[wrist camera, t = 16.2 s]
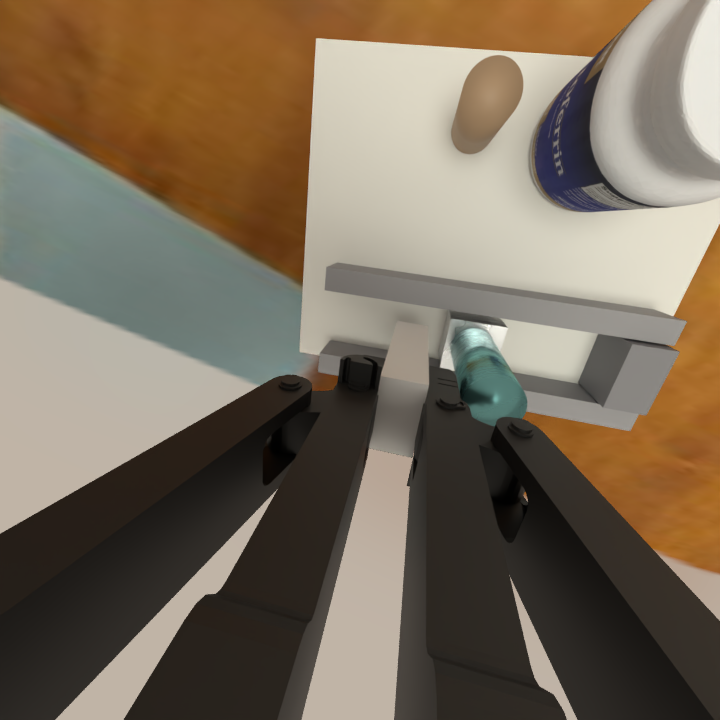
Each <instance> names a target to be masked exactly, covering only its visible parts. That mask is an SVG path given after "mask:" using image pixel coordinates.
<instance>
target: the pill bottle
mask: <svg viewBox="0 0 720 720" xmlns="http://www.w3.org/2000/svg"><path fill="white" fill-rule="evenodd" d="M530 166H531V172H532V176H533V179H534V182H535V184H536V186H537V187H538V189H539V191H540V192H541V193H542V195H543V196H544V197H545V198H546V199H547V200H549V201H550V202H551V203H553V204H554V205H556V206H558V207H560V208H562V209H565V210H569V211H574V212H603V211H619V210H634V209H651V208H668V207H677V206H686V205H692V204H698V203H703V202H706V201H710V200H713V199H716V198H719V197H720V0H653V1H651V2H650V3H649V4H648V5H647V6H646V7H645V8H644V9H643V10H642V11H641V12H640V13H639V14H638V15H637V16H636V17H635V18H634V19H633V20H632V21H631V22H630V23H628V24H627V25H626V26H625V27H624V28H623V29H622V30H621V31H620V32H619V33H618V34H617V35H616V36H615V37H614V38H613V39H612V40H611V41H610V42H609V43H608V44H607V45H606V46H605V47H604V48H603V49H602V50H601V51H600V52H599V53H597V54H596V56H595V57H594V58H593V59H592V60H591V61H590V62H589V63H588V64H587V65H586V66H585V67H584V68H583V69H582V70H581V71H580V72H579V73H578V74H576V75H575V76H574V78H573V79H572V80H571V81H570V82H569V83H568V84H566V85H565V87H564V88H563V89H562V90H561V91H560V92H559V93H558V94H557V95H556V96H555V98H554V99H553V100H552V101H551V103H550V104H549V105H548V107H547V108H546V110H545V111H544V113H543V114H542V116H541V118H540V120H539V122H538V124H537V127H536V129H535V132H534V135H533V139H532V144H531V151H530Z"/></svg>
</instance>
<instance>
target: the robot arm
mask: <svg viewBox="0 0 720 720" xmlns="http://www.w3.org/2000/svg"><path fill="white" fill-rule="evenodd" d="M369 448H370V449H375V450H380V451H384V452H388V453H393V454H397V455H402V456H407V457H411V458H412V457H413V453H414V457H413V461H412V466H411V470H410V474H409V478H408V483H407V486H410V492H409V508H408V521H407V536H406V551H405V567H404V581H403V597H402V611H401V626H400V641H399V642H400V643H399V657H398V671H397V686H396V701H395V717H394V720H567V719H566V716H565V713H564V711H563V709H562V707H561V706H560V704H559V703H558V701H557V699H556V698H555V696H554V695H553V694H552V693H550V692H548V691H546V690H544V689H543V688H541V687H539V685H538V683H537V682H536V680H535V678H534V675H533V672H532V669H531V665H530V661H529V657H528V653H527V649H526V644H525V640H524V636H523V631H522V627H521V623H520V619H519V614H518V610H517V606H516V602H515V598H514V593H513V589H512V585H511V581H510V577H511V579H512V581H513V583H514V586H515V588H516V589H517V592H518V594H519V596H520V598H521V601H522V603H523V605H524V607H525V609H526V611H527V613H528V615H529V617H530V620H531V622H532V624H533V626H534V628H535V630H536V632H537V634H538V636H539V639H540V641H541V643H542V645H543V647H544V649H545V651H546V653H547V656H548V658H549V660H550V662H551V664H552V666H553V669H554V671H555V673H556V675H557V677H558V679H559V681H560V683H561V685H562V688H563V690H564V692H565V694H566V696H567V698H568V700H569V703H570V705H571V707H572V709H573V711H574V713H575V715H576V717H577V719H578V720H720V621H719V620H718V619H717V618H716V617H715V615H714V614H713V613H712V612H711V611H710V610H709V609H708V608H707V607H706V606H705V605H704V604H703V603H702V602H701V601H700V599H699V598H698V597H697V596H696V595H695V594H694V593H693V592H692V591H691V590H690V589H689V588H688V587H687V586H686V584H685V583H684V582H683V581H682V580H681V579H680V578H679V577H678V576H677V575H676V574H675V573H674V572H673V571H672V569H671V568H670V567H669V566H668V565H667V564H666V563H665V562H664V561H663V560H662V559H661V558H660V557H659V556H658V554H657V553H656V552H655V551H654V550H653V549H652V548H651V547H650V546H649V545H648V544H647V543H646V542H645V541H644V540H643V538H642V537H641V536H640V535H639V534H638V533H637V532H636V531H635V530H634V529H633V528H632V527H631V526H630V525H629V523H628V522H627V521H626V520H625V519H624V518H623V517H622V516H621V515H620V514H619V513H618V512H617V511H616V510H615V508H614V507H613V506H612V505H611V504H610V503H609V502H608V501H607V500H606V499H605V498H604V497H603V496H602V495H601V493H600V492H599V491H598V490H597V489H596V488H595V487H594V486H593V485H592V484H591V483H590V482H589V481H588V480H587V479H586V477H585V476H584V475H583V474H582V473H581V472H580V471H579V470H578V469H577V468H576V467H575V466H574V465H573V464H572V462H571V461H570V460H569V459H568V458H567V457H566V456H565V455H564V454H563V453H562V452H561V451H560V450H559V449H558V447H557V446H556V445H555V444H554V443H553V442H552V441H551V440H550V439H549V438H548V437H547V436H546V435H545V434H544V433H543V431H541V430H540V429H539V428H538V427H536V426H535V425H533V424H531V423H529V422H528V421H526V420H524V419H523V420H522V419H521V418H513V417H501V418H499V419H497V422H496V425H495V427H494V426H491V425H489V424H486V423H483V422H481V421H479V420H476V419H475V418H473V417H472V415H471V411H470V408H469V406H468V404H467V403H465V402H464V401H463V400H461V397H460V392H459V388H458V383H457V377H456V375H455V374H454V373H453V372H452V371H451V370H450V369H445V368H439V367H434V366H429V354H428V326H425V325H419V324H413V323H407V322H401V321H397V324H396V327H395V330H394V333H393V337H392V340H391V343H390V347H389V350H388V353H387V356H386V359H385V358H380V357H375V356H369V355H357V354H356V355H347V356H344V357H342V358H341V359H340V366H339V375H338V383H337V385H336V386H335V388H334V390H330V391H312V383H311V382H310V381H309V380H307V379H305V378H303V377H299V376H297V375H285V376H279V377H276V378H273V379H271V380H270V381H268V382H266V383H264V384H263V385H261V386H259V387H257V388H256V389H254V390H252V391H251V392H249V393H247V394H245V395H243V396H241V397H240V398H238V399H236V400H235V401H233V402H231V403H230V404H227V405H226V406H224V407H222V408H220V409H219V410H217V411H215V412H214V413H212V414H210V415H208V416H207V417H205V418H203V419H201V420H199V421H198V422H196V423H194V424H192V425H191V426H189V427H187V428H186V429H184V430H182V431H180V432H178V433H176V434H175V435H173V436H171V437H169V438H168V439H166V440H164V441H163V442H161V443H159V444H157V445H156V446H154V447H152V448H150V449H148V450H147V451H145V452H143V453H141V454H140V455H138V456H136V457H134V458H133V459H131V460H129V461H128V462H126V463H124V464H122V465H121V466H119V467H117V468H115V469H113V470H111V471H110V472H108V473H106V474H104V475H103V476H101V477H99V478H97V479H96V480H94V481H92V482H90V483H89V484H87V485H85V486H83V487H82V488H80V489H78V490H76V491H75V492H73V493H71V494H69V495H68V496H66V497H64V498H63V499H61V500H59V501H57V502H55V503H54V504H52V505H50V506H48V507H47V508H45V509H43V510H41V511H40V512H38V513H36V514H34V515H32V516H31V517H29V518H27V519H26V520H24V521H22V522H20V523H19V524H17V525H15V526H13V527H12V528H10V529H8V530H6V531H4V532H3V533H1V534H0V720H55V719H56V718H57V717H58V716H59V715H60V714H61V713H62V712H63V711H64V710H65V709H66V708H67V707H68V706H69V705H70V704H71V703H72V702H73V701H74V699H75V698H76V697H77V696H78V695H79V694H80V693H81V692H82V691H83V690H84V689H85V688H86V687H87V686H88V685H89V684H90V683H91V682H92V681H93V680H94V679H95V678H96V677H97V675H98V674H99V673H101V671H102V670H103V669H104V668H105V667H106V666H107V665H108V664H109V663H110V662H111V661H112V660H113V659H114V658H115V657H116V656H117V655H118V654H119V653H120V652H121V651H122V650H123V649H124V648H125V647H126V646H127V645H128V643H129V642H130V641H131V640H132V639H133V638H134V637H135V636H136V635H137V634H138V633H139V632H140V631H141V630H142V629H143V628H144V627H145V626H146V624H148V623H149V622H150V621H151V620H152V619H153V618H154V616H155V615H156V614H157V613H158V612H159V611H160V610H161V609H162V608H163V607H164V606H165V605H166V604H167V603H168V602H169V601H170V600H171V598H173V597H174V596H175V595H176V594H177V593H178V592H179V590H181V588H182V587H183V586H184V585H185V584H186V583H187V582H188V581H189V580H190V579H191V578H192V577H193V576H194V575H195V574H196V573H197V572H198V571H199V570H200V569H201V567H203V566H204V565H205V563H207V561H208V560H209V559H210V558H211V557H212V556H213V555H214V554H215V553H216V552H217V551H218V550H219V549H220V548H221V547H222V546H223V545H224V544H225V543H226V542H227V541H228V540H229V539H230V538H231V536H233V534H234V533H235V532H236V531H237V530H238V529H239V528H240V527H241V526H242V525H243V524H244V523H245V522H246V521H247V520H248V519H249V518H250V517H251V516H252V515H253V514H254V513H255V512H256V510H258V508H260V506H261V505H262V504H263V503H264V502H265V501H266V500H267V499H268V498H269V497H270V496H271V495H272V494H273V493H274V492H275V491H276V490H277V489H278V490H277V491H276V493H275V495H274V497H273V499H272V501H271V502H270V504H269V506H268V508H267V510H266V511H265V513H264V515H263V517H262V518H261V520H260V522H259V524H258V525H257V527H256V529H255V531H254V532H253V534H252V536H251V538H250V540H249V542H248V543H247V545H246V547H245V549H244V550H243V552H242V554H241V556H240V557H239V559H238V561H237V563H236V564H235V566H234V568H233V570H232V572H231V573H230V575H229V577H228V579H227V581H226V582H225V584H224V585H223V587H222V588H221V589H220V590H219V591H218V592H217V593H216V594H208V595H205V596H204V597H203V598H202V599H201V600H200V601H199V602H197V603H196V605H195V606H194V608H193V609H192V610H191V612H190V613H189V615H188V616H187V617H186V619H185V620H184V622H183V624H182V625H181V627H180V629H179V630H178V632H177V633H176V635H175V637H174V638H173V640H172V642H171V643H170V645H169V646H168V648H167V650H166V651H165V653H164V655H163V656H162V658H161V659H160V661H159V663H158V664H157V666H156V668H155V669H154V671H153V673H152V674H151V676H150V677H149V679H148V681H147V682H146V684H145V686H144V687H143V689H142V690H141V692H140V694H139V695H138V697H137V699H136V700H135V702H134V704H133V705H132V707H131V708H130V710H129V712H128V713H127V715H126V717H125V718H124V720H301V719H302V714H303V710H304V707H305V702H306V699H307V694H308V691H309V686H310V682H311V679H312V675H313V671H314V667H315V662H316V659H317V655H318V651H319V647H320V643H321V639H322V635H323V631H324V627H325V623H326V619H327V615H328V611H329V607H330V603H331V599H332V595H333V591H334V587H335V583H336V579H337V576H338V571H339V567H340V563H341V560H342V556H343V552H344V548H345V544H346V540H347V535H348V531H349V528H350V523H351V520H352V516H353V512H354V508H355V504H356V500H357V496H358V492H359V488H360V484H361V480H362V476H363V472H364V468H365V464H366V460H367V456H368V450H369ZM524 492H526V494H527V498H528V502H527V501H526V499H525V498H524V496H523V495H524ZM509 575H510V576H509Z"/></svg>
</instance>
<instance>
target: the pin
mask: <svg viewBox="0 0 720 720" xmlns="http://www.w3.org/2000/svg"><path fill="white" fill-rule="evenodd" d="M507 329H508V327H507V326H506V325H505V323H504V322H503V321H502V320H501V319H500V318H496V317H489V316H483V315H477V314H471V313H464V312H458V311H452V310H448V311H447V316H446V320H445V324H444V329H443V333H442V338H441V342H440V346H439V351H438V358H439V368H445V369H450V370H451V371H455V375H456V377H457V383H458V388H459V392H460V397H461V400H463V401H464V402H465V403H467V404H468V406H469V408H470V411H471V415H472V417H473V418H475V419H476V420H479V421H481V422H483V423H486V424H489V425H491V426H494V427H495V425H496V422H497V419H499V418H501V417H513V418H521V419H522V418H523V416H524V415H525V413H526V410H527V397H526V394H525V392H524V391H523V389H522V387H521V386H520V384H519V382H518V381H517V379H516V377H515V375H514V374H513V372H512V370H511V369H510V367H509V365H508V364H507V362H506V360H505V359H504V357H503V355H502V354H501V349H502V346H503V342H504V339H505V336H506V332H507Z"/></svg>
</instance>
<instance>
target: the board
mask: <svg viewBox="0 0 720 720" xmlns="http://www.w3.org/2000/svg"><path fill="white" fill-rule="evenodd" d="M593 58H594V57H584V56H569V55H554V54H540V53H525V52H510V51H495V50H481V49H466V48H451V47H437V46H422V45H407V44H392V43H378V42H363V41H348V40H334V39H319V38H316V50H315V69H314V88H313V106H312V125H311V144H310V162H309V181H308V200H307V218H306V237H305V256H304V274H303V293H302V312H301V331H300V349H299V352H303V353H308V354H314V355H319V366H318V372H321V373H326V374H331V375H337V376H338V375H339V366H340V359H341V358H342V357H344V356H347V355H356V354H357V355H369V356H375V357H380V358H385V359H386V356H387V353H388V350H389V347H390V343H391V340H392V337H393V333H394V330H395V327H396V324H397V321H401V322H407V323H413V324H419V325H425V326H428V354H429V366H434V367H439V358H438V351H439V346H440V342H441V338H442V333H443V329H444V324H445V320H446V316H447V311H448V310H452V311H458V312H464V313H471V314H477V315H483V316H489V317H496V318H500V319H501V320H502V321H503V322H504V323H505V325H506V326H507V327H508V329H507V332H506V336H505V339H504V342H503V346H502V349H501V354H502V355H503V357H504V359H505V360H506V362H507V364H508V365H509V367H510V369H511V370H512V372H513V374H514V375H515V377H516V379H517V381H518V382H519V384H520V386H521V387H522V389H523V391H524V392H525V394H526V397H527V410H526V411H527V412H532V413H537V414H543V415H548V416H553V417H559V418H564V419H569V420H574V421H580V422H585V423H590V424H596V425H601V426H606V427H611V428H617V429H622V430H627V431H630V430H631V428H632V426H633V425H634V423H635V421H636V419H637V417H638V415H639V414H641V415H647V413H648V411H649V409H650V407H651V405H652V403H653V402H654V400H655V398H656V396H657V394H658V392H659V390H660V388H661V386H662V385H663V383H664V381H665V379H666V377H667V375H668V373H669V371H670V369H671V368H672V366H673V364H674V362H675V360H676V358H677V356H678V354H679V353H680V352H679V351H677V350H675V349H673V348H671V347H669V346H667V345H672V346H675V344H676V342H677V340H678V338H679V336H680V334H681V332H682V330H683V328H684V326H685V324H686V322H687V321H685V320H682V319H679V318H676V317H674V314H675V312H676V310H677V308H678V306H679V304H680V302H681V300H682V298H683V296H684V294H685V292H686V290H687V288H688V286H689V284H690V282H691V280H692V278H693V276H694V274H695V272H696V270H697V268H698V266H699V264H700V262H701V260H702V258H703V256H704V254H705V252H706V250H707V248H708V246H709V244H710V242H711V240H712V238H713V236H714V234H715V232H716V230H717V228H718V226H719V224H720V197H719V198H716V199H713V200H710V201H706V202H703V203H698V204H692V205H686V206H677V207H668V208H651V209H634V210H619V211H603V212H574V211H569V210H565V209H562V208H560V207H558V206H556V205H554V204H553V203H551V202H550V201H549V200H547V199H546V198H545V197H544V196H543V195H542V193H541V192H540V191H539V189H538V187H537V186H536V184H535V182H534V179H533V176H532V172H531V166H530V151H531V144H532V139H533V135H534V132H535V129H536V127H537V124H538V122H539V120H540V118H541V116H542V114H543V113H544V111H545V110H546V108H547V107H548V105H549V104H550V103H551V101H552V100H553V99H554V98H555V96H556V95H557V94H558V93H559V92H560V91H561V90H562V89H563V88H564V87H565V85H566V84H568V83H569V82H570V81H571V80H572V79H573V78H574V76H575V75H576V74H578V73H579V72H580V71H581V70H582V69H583V68H584V67H585V66H586V65H587V64H588V63H589V62H590V61H591V60H592V59H593ZM452 372H453V373H454V374H455V371H452Z"/></svg>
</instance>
